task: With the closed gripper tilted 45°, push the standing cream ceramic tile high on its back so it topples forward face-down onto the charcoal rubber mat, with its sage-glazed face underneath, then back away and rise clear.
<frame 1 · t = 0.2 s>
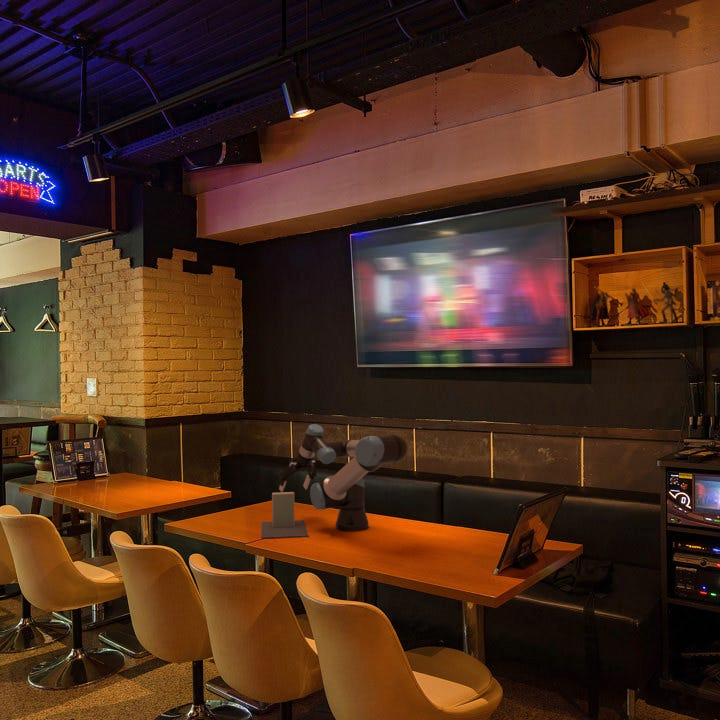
hand: (293, 488, 327), 15 cm above the table, tool tilted 35°, fingers open, 13 cm apart
mat: (283, 530, 307), on the table
tile: (283, 525, 312), point 1 cm above the table, touching mat
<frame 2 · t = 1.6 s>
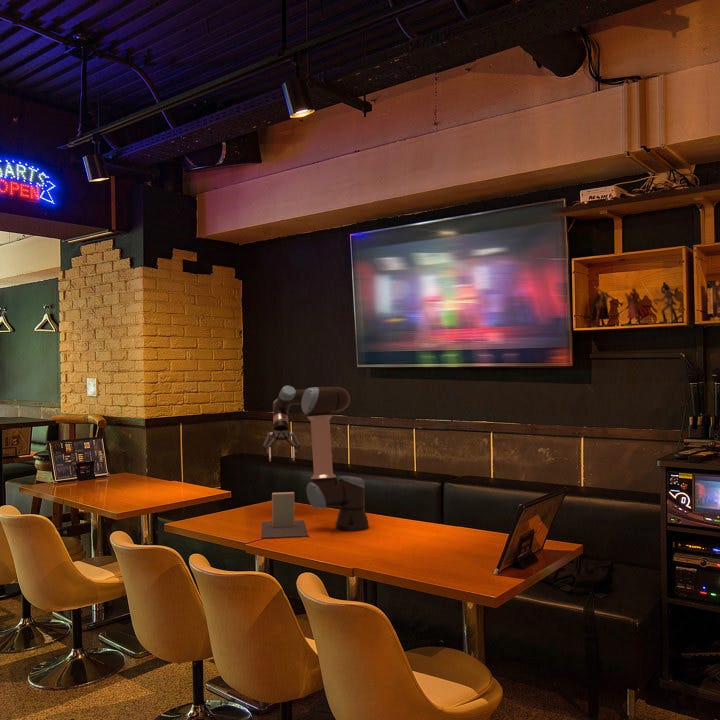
hand: (281, 459, 329), 29 cm above the table, tool tilted 45°, fingers open, 11 cm apart
nothing on the table moved.
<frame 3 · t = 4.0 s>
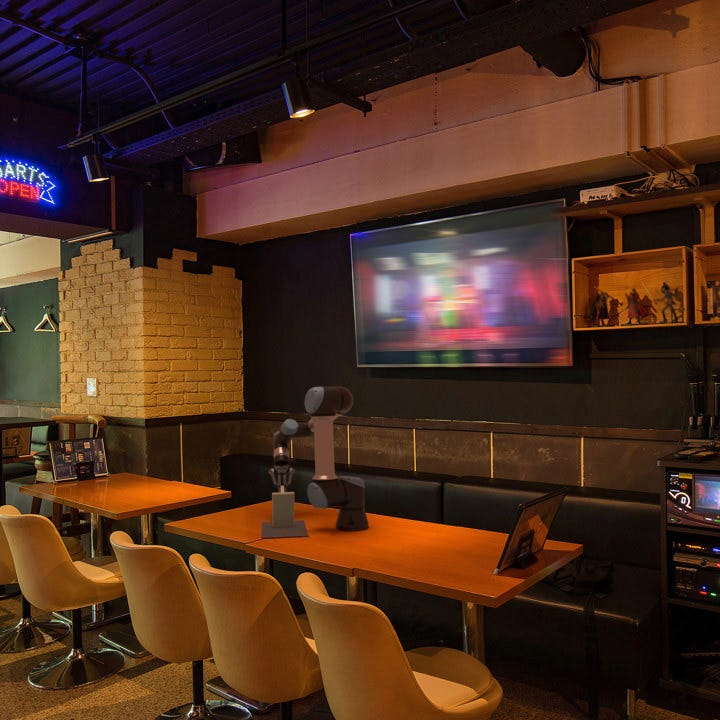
hand: (282, 498, 319), 12 cm above the table, tool tilted 45°, fingers closed
nothing on the table moved.
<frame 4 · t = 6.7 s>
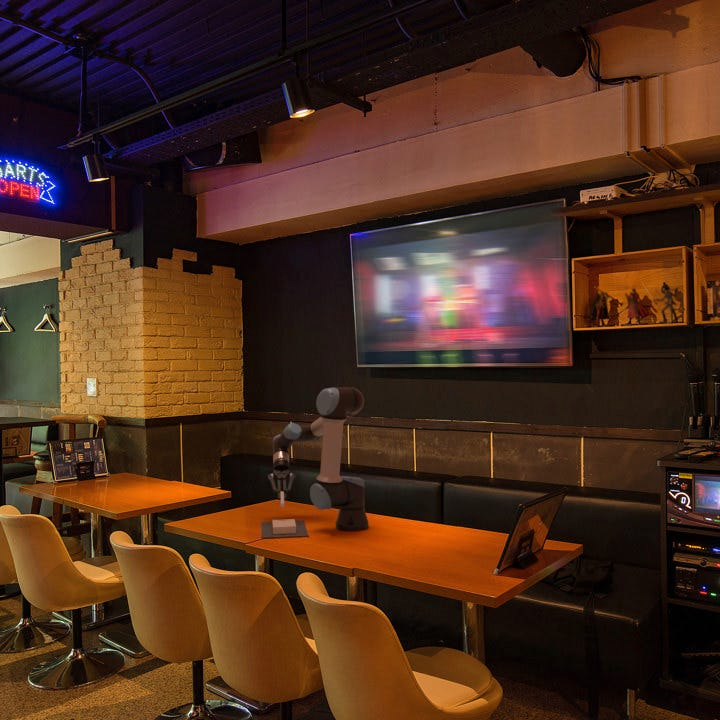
hand: (282, 505, 308), 11 cm above the table, tool tilted 45°, fingers closed
tile: (283, 522, 310), point 3 cm above the table, tilted 90°, touching mat
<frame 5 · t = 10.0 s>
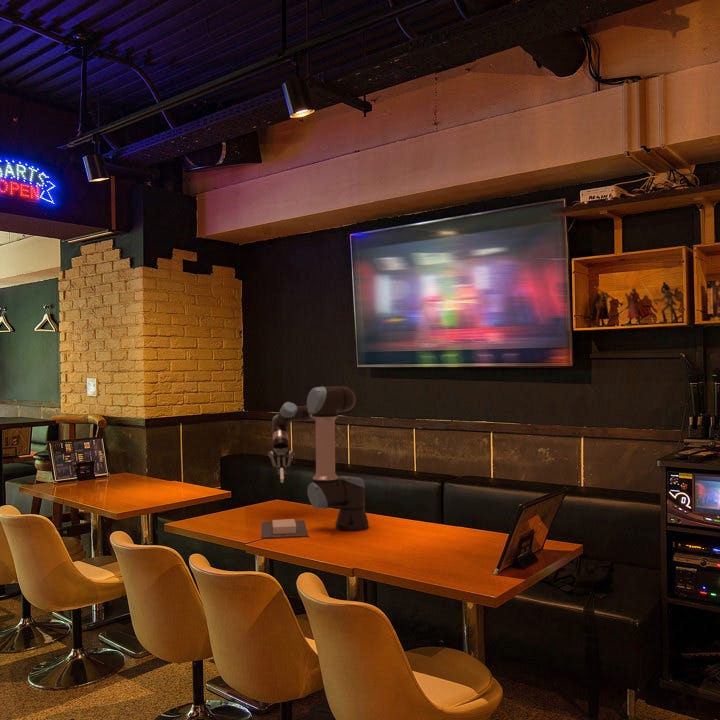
hand: (282, 480, 320), 20 cm above the table, tool tilted 45°, fingers closed
nothing on the table moved.
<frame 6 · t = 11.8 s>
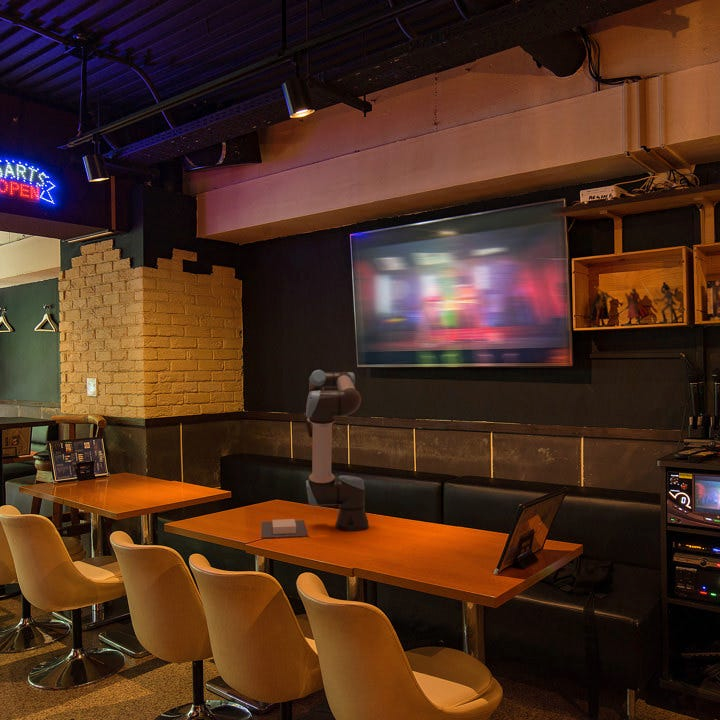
hand: (316, 450, 335), 33 cm above the table, tool tilted 20°, fingers closed
nothing on the table moved.
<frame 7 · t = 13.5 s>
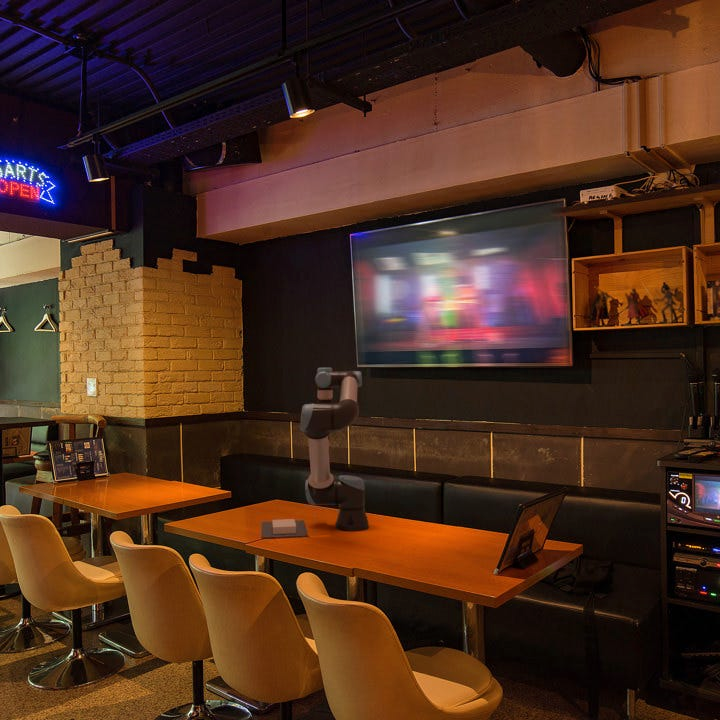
hand: (325, 446, 336), 34 cm above the table, tool pointing down, fingers closed
nothing on the table moved.
at the end: tile tilted 90°; tile inside the target area on the mat (5.6 cm from its centre), point 2.8 cm above the mat's base; tile touching mat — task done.
